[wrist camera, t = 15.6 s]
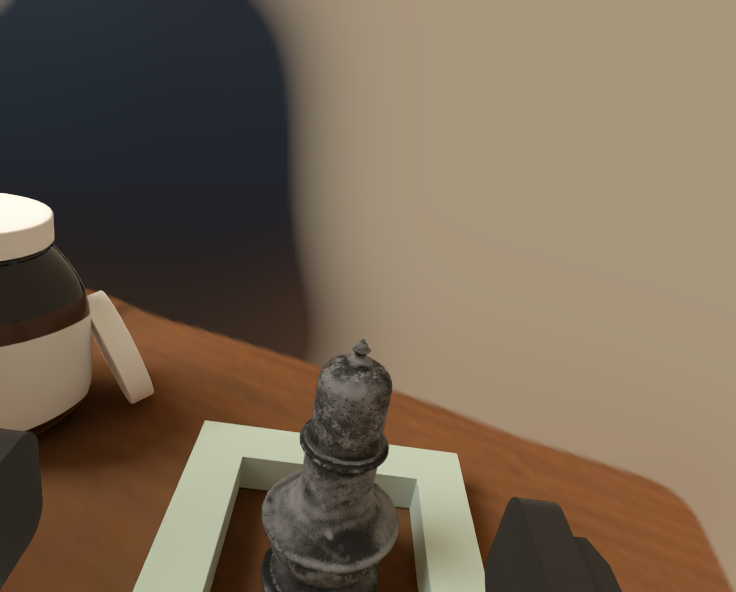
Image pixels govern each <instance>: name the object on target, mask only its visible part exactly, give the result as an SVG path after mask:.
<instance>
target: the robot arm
mask: <svg viewBox="0 0 736 592" xmlns="http://www.w3.org/2000/svg"><path fill="white" fill-rule="evenodd" d="M42 504H43V502H42V487H41V474H40V461H39V448H38V440H37V437H36V435H35V434H34V433H32V432H26V431H18V430H10V429H3V428H0V589H1V587H2V586H3V584H4V583H5V581H6V580H7V578H8V576H9V575H10V573H11V572H12V570H13V569H14V567H15V565H16V564H17V562H18V561H19V559H20V558H21V556H22V555H23V553H24V551H25V550H26V548H27V547H28V545H29V544H30V542H31V540H32V538H33V536H34V534H35V532H36V529H37V527H38V524H39V520H40V517H41V512H42ZM485 592H622V591H621V589H620V587H619V585H618V582H617V580H616V578H615V576H614V574H613V572H612V569H611V567H610V565H609V564H608V563H607V562H606V561H605V559H604V558H603V557H602V556H601V555H600V554H599V553H598V551H597V550H596V549H595V548H594V547H593V546H592V544H591V543H590V542H589V541H588V540H587V539H586V538H581V537H573V535H572V532H571V530H570V528H569V525H568V523H567V520H566V518H565V516H564V513H563V511H562V509H561V507H560V506H559V505H558V504H557V503H555V502H548V501H540V500H533V499H525V498H517V497H513V498H512V499H511V500H510V501H509V502H508V505H507V507H506V510H505V512H504V515H503V518H502V520H501V523H500V525H499V528H498V531H497V533H496V536H495V539H494V541H493V544H492V547H491V549H490V552H489V555H488V558H487V562H486V567H485Z"/></svg>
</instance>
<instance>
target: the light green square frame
mask: <svg viewBox="0 0 736 592" xmlns="http://www.w3.org/2000/svg"><path fill="white" fill-rule="evenodd" d="M304 455H305V452H304V451H303V449H302V447H301V445H300V433H297V432H289V431H282V430H274V429H267V428H259V427H251V426H244V425H236V424H229V423H221V422H213V421H206V420H205V422H204V424H203V427H202V429H201V431H200V434H199V436H198V438H197V441H196V443H195V445H194V448H193V450H192V453H191V455H190V457H189V460H188V462H187V464H186V467H185V469H184V471H183V474H182V476H181V479H180V481H179V483H178V486H177V488H176V490H175V493H174V495H173V497H172V500H171V502H170V504H169V507H168V509H167V512H166V514H165V516H164V519H163V521H162V523H161V526H160V528H159V530H158V533H157V535H156V538H155V540H154V542H153V545H152V547H151V549H150V552H149V554H148V556H147V559H146V561H145V564H144V566H143V568H142V571H141V573H140V575H139V578H138V580H137V582H136V585H135V587H134V590H133V592H210V590H211V586H212V583H213V579H214V576H215V572H216V569H217V565H218V561H219V558H220V554H221V551H222V547H223V544H224V540H225V537H226V533H227V529H228V526H229V522H230V519H231V515H232V512H233V508H234V505H235V501H236V497H237V494H238V490H239V487H242V488H250V489H258V490H266V491H269V490H270V489H271V488H272V486H273V485H274V484H275V483H276V482H277V481H278V480H280V479H281V478H283V477H284V476H286V475H288V474H289V473H292V472H294V471H297V470H300V469H302V468H303V461H304ZM374 482H375V483H376V484H378V485H379V486H380V487H381V488H382V489H383V490H384V491H385V493H386V494H387V495H388V496H389V497H390V499H391V501H392V502H393V504H394V506H395V507H403V508H410V518H411V528H412V538H413V547H414V557H415V567H416V577H417V587H418V592H485V573H484V568H483V564H482V560H481V555H480V551H479V547H478V542H477V538H476V534H475V529H474V525H473V521H472V517H471V512H470V508H469V504H468V499H467V495H466V491H465V486H464V482H463V478H462V473H461V469H460V465H459V460H458V456H457V454H456V453H449V452H441V451H434V450H426V449H418V448H411V447H403V446H396V445H389V452H388V456H387V458H386V460H385V461H384V463H382V464H381V465H380V466H378V467H377V471H376V476H375V480H374Z"/></svg>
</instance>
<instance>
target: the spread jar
mask: <svg viewBox="0 0 736 592" xmlns="http://www.w3.org/2000/svg"><path fill="white" fill-rule="evenodd" d="M53 241H54V222H53V212H52V210H51V209H50V208H49V207H48V206H46V205H45V204H43V203H41V202H38V201H36V200H33V199H30V198H26V197H21V196H17V195H10V194H4V193H0V428H3V429H10V430H18V431H26V432H32V433H34V434H35V435H36V436H37V435H39V434H41V433H42V432H44V431H46V430H48V429H49V428H51V427H52V426H54V425H55V424H57V423H58V422H59V421H61V420H62V419H64V418H65V417H66V416H67V415H69V414H70V413H71V412H72V411H73V410H74V409H75V408H76V407H77V406H78V405H79V404H80V403H81V402H82V400H83V399H84V397H85V396H86V394H87V393H88V390H89V387H90V383H91V377H92V336H93V338H94V340H95V342H96V344H97V346H98V348H99V350H100V352H101V354H102V356H103V358H104V360H105V361H106V363H107V365H108V367H109V369H110V371H111V373H112V375H113V376H114V378H115V380H116V382H117V383H118V385H119V387H120V389H121V390H122V392H123V394H124V395H125V397H126V398H127V400H128V401H129V402H130V403H131V404H134V403H136V402H138V401H140V400H142V399H144V398H146V397H148V396H150V395H152V394H153V393H154V390H153V386H152V382H151V379H150V377H149V374H148V372H147V369H146V367H145V365H144V362H143V360H142V358H141V356H140V354H139V352H138V349H137V347H136V345H135V343H134V341H133V339H132V337H131V335H130V334H129V332H128V330H127V328H126V326H125V324H124V322H123V321H122V319H121V317H120V315H119V314H118V312H117V310H116V309H115V307H114V305H113V304H112V302H111V301H110V299H109V298H108V297H107V295H106V294H105V293H104V292H103V291H98V292H96V293H94V294H91V295H89V296H87V295H86V292H85V289H84V286H83V284H82V282H81V280H80V279H79V277H78V275H77V273H76V272H75V270H74V269H73V267H72V266H71V264H70V263H69V262H68V260H67V259H66V258H65V257H64V256H63V255H62V254H61V252H60V251H59V250H58V249H57V248H56V247H55V246H54V245H53V244H52V242H53Z"/></svg>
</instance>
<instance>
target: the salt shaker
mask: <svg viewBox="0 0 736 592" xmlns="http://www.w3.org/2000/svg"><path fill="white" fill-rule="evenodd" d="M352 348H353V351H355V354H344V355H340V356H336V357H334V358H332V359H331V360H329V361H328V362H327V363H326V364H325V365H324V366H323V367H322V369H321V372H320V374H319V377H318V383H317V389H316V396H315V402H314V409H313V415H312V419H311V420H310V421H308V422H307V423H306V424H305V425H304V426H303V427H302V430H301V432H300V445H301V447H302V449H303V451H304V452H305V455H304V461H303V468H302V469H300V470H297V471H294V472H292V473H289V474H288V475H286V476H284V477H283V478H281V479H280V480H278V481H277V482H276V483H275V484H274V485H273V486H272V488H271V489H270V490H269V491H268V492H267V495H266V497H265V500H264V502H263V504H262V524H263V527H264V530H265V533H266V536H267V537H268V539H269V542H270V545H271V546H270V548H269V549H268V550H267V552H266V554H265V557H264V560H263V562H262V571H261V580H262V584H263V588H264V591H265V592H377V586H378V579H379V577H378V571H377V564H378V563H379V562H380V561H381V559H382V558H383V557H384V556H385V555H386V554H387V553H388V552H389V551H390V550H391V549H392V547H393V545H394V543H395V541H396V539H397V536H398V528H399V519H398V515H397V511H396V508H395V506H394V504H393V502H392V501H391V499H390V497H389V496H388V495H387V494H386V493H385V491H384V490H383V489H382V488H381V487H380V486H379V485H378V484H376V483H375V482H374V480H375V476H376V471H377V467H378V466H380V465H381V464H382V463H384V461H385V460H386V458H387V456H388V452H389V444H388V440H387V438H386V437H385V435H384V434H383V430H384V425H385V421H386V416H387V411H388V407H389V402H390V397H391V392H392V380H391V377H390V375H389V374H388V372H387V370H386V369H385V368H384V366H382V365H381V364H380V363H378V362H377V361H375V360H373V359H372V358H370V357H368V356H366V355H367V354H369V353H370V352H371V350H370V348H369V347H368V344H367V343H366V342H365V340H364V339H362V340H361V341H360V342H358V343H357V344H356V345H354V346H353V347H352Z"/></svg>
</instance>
